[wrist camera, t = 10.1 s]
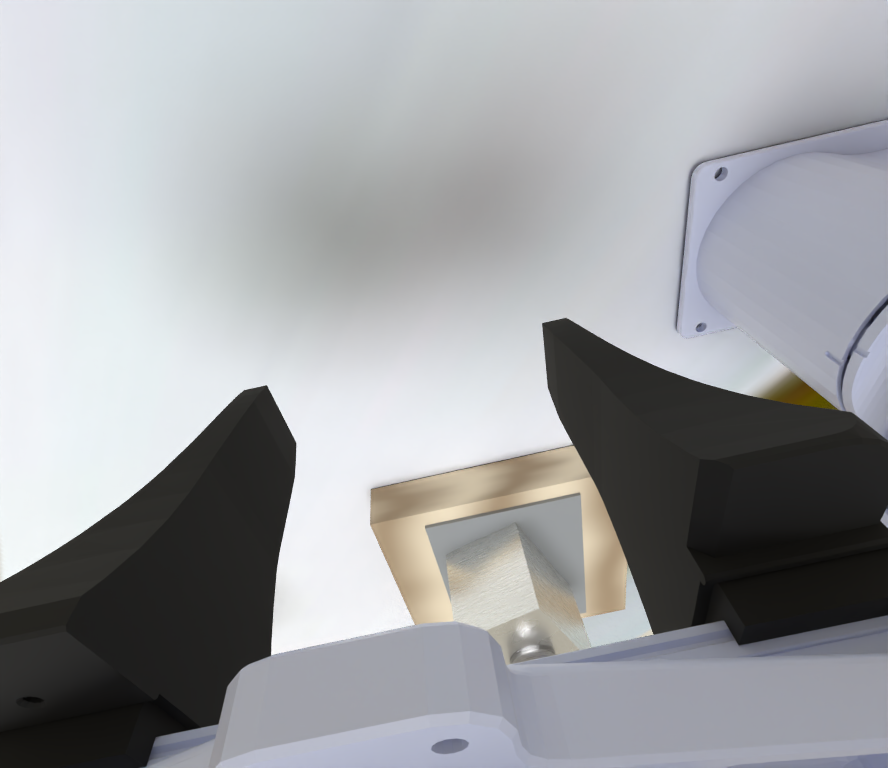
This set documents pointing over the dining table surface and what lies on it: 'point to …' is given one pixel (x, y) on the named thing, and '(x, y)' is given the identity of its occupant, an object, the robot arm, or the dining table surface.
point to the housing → (514, 596)
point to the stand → (491, 508)
